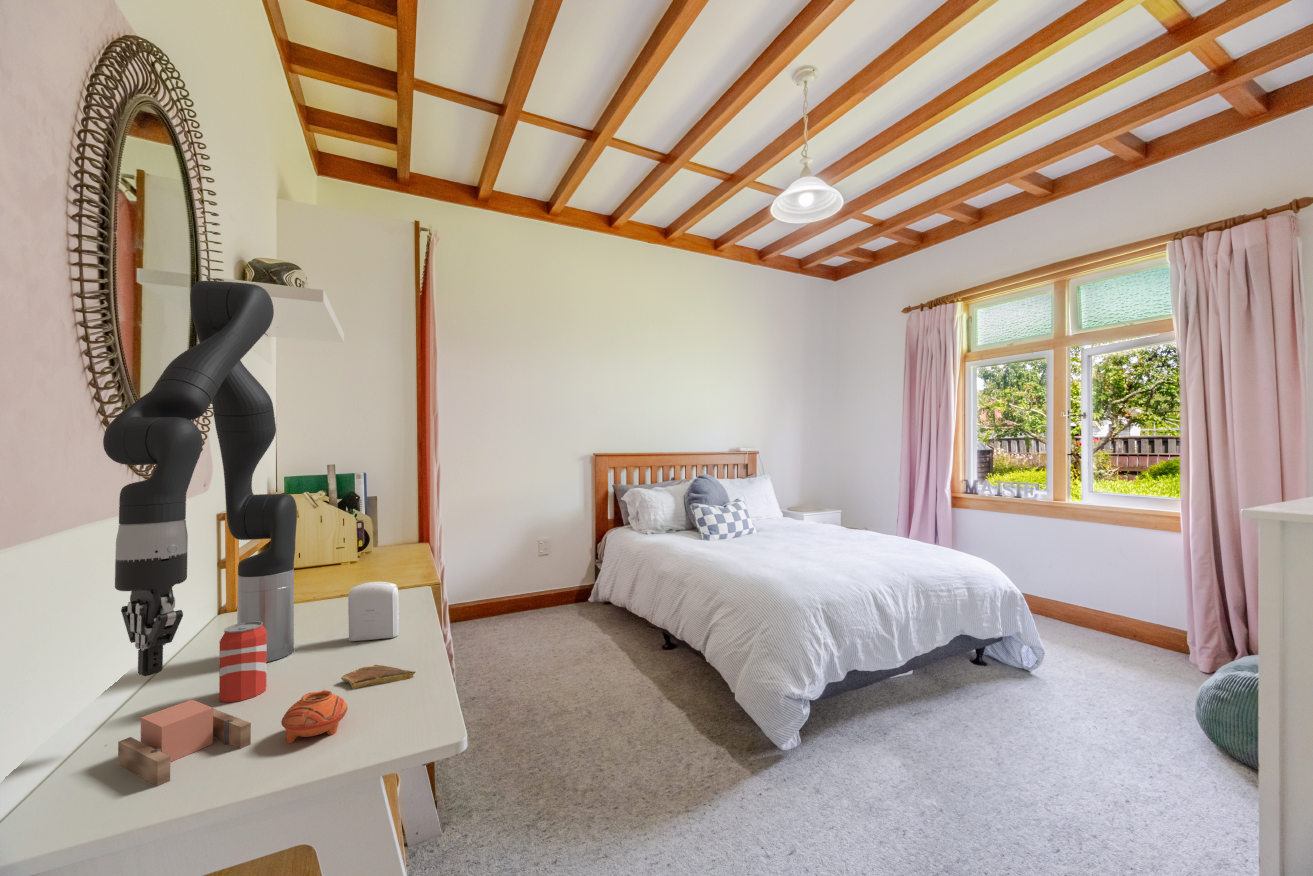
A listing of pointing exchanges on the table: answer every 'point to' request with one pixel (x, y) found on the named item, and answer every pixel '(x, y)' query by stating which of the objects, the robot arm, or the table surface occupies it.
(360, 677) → the shard
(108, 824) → the table surface
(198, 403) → the robot arm
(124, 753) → the tan wooden frame
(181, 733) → the block
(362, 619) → the photo printer
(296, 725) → the pot
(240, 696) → the beverage can
